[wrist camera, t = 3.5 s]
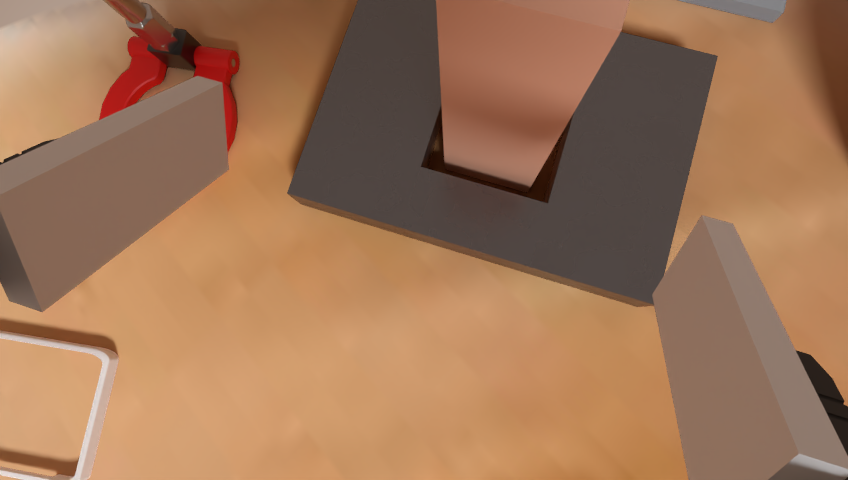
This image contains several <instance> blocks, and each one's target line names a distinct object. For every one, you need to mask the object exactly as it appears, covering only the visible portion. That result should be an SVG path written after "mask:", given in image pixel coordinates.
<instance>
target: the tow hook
mask: <svg viewBox="0 0 848 480" xmlns="http://www.w3.org/2000/svg"><path fill="white" fill-rule="evenodd" d="M103 1H104V2H106V3H107V4H108V5H109V6H110V7H112V8H113V9H114V10H115V11H116V12H118V13H119V14H120V15H121V16H122V17H124V18H125V20H126V23H127V26H128V27H129V28H130V29H131V30H132V31H133V32H135V33H136V34H137V35H138V36H139V37H136V36H133V37H131V38H130V39H129V41H128V52H129V54H130V56H131V57H132V60H131V64H130V68H129V69H128V70H126V71H125V72H124V73H122V74H121V76H120V77H119V78H118V79H117V80H116V82H115V83H114V84H113V85H112V86H111V88H110V90H109V92H108V94H107V96H106V98H105V100H104V102H103V104H102V109H101V113H100V118H99V120H101V119H103V118H105V117H107V116H109V115H112V114H114V113H116V112H118V111H120V110H123V109H125V108H127V107H129V106H131V105H134V104H136V102H137V101H138V100H139V99H140V97H141V96H142V95H143V94H144V93H145V92H147V91H148V90H149V89H151V88H152V87H154V86H156V85H158V84H161V83H162V81H163V80H164V77H165V73H166V69H167V66H169V67H174V68H180V69H187V70H193V71H195V73H194V77H196V76H200V77H204V78H207V79H211V80H215V81H218V82H222V84H223V97H224V111H225V125H226V138H227V152H228V151H229V149H230V147H231V145H232V143H233V140H234V137H235V132H236V126H237V111H236V103H235V101H234V98H233V95H232V92H231V90H230V88H229V85H230V81H231V77H232V74H236V73H237V72H238V69H239V57H238V54H237V53H236V52H235V51H231V50H224V49H218V48H211V47H204V46H201V45H200V44H199V43H198V42H197V41H196V40H195V39H194V38H193V37H192V36H191V35H190V34H189V33H188V32H187V31H186V30H184V29H177V28H174V27H173V26H172V25H171V24H169V23H168V22H167V21H166V20H165V19H164V18H163V17H162V16H161V15H160V14H159V13H158V12H157V11H156V10H155V9H154V8H153V7H152V6H151V5H149V4H147V3H141V2H140V1H139V0H103Z"/></svg>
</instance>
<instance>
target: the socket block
mask: <svg viewBox="0 0 848 480" xmlns="http://www.w3.org/2000/svg"><path fill="white" fill-rule="evenodd" d="M717 57H718V56H716V55H712V54H708V53H704V52H700V51H695V50H691V49H687V48H683V47H679V46H675V45H671V44H667V43H663V42H659V41H655V40H651V39H647V38H643V37H639V36H635V35H631V34H627V33H623V32H620V34H619V36H618V38H617V39H616V41H615V43H614V44H613V46H612V48H611V50H610V51H609V53H608V55H607V56H606V58H605V60H604V62H603V63H602V65H601V67H600V69H599V70H598V72H597V74H596V75H595V77H594V79H593V81H592V82H591V84H590V86H589V87H588V89H587V91H586V93H585V94H584V96H583V98H582V100H581V101H580V103H579V105H578V106H577V108H576V110H575V112H574V113H573V115H572V117H571V118H570V120H569V122H568V124H567V125H566V127H565V129H564V131H563V134H562V138H561V141H560V144H559V148H558V151H557V155H556V158H555V162H554V165H553V169H552V172H551V176H550V179H549V183H548V186H547V190H546V193H545V197H544V200H543V202H541V201H538V200H534V199H531V198H527V197H524V196H521V195H517V194H514V193H510V192H507V191H503V190H500V189H496V188H493V187H489V186H486V185H482V184H479V183H475V182H472V181H469V180H465V179H462V178H458V177H455V176H451V175H448V174H444V173H441V172H437V171H434V170H430V169H427V168H428V165H429V161H430V158H431V155H432V152H433V149H434V146H435V143H436V140H437V137H438V134H439V131H440V128H441V125H442V106H441V86H440V67H439V47H438V28H437V8H436V0H358V2H357V5H356V7H355V10H354V13H353V15H352V18H351V21H350V24H349V26H348V29H347V32H346V35H345V37H344V40H343V43H342V45H341V48H340V51H339V54H338V56H337V59H336V62H335V64H334V67H333V70H332V73H331V75H330V78H329V81H328V83H327V86H326V89H325V92H324V94H323V97H322V100H321V103H320V105H319V108H318V111H317V113H316V116H315V119H314V122H313V124H312V127H311V130H310V132H309V135H308V138H307V141H306V143H305V146H304V149H303V151H302V154H301V157H300V160H299V162H298V165H297V168H296V171H295V173H294V176H293V179H292V181H291V184H290V187H289V190H288V192H287V194H289V195H290V196H291V197H292V198H294V199H295V200H296V201H298V202H299V203H300V204H302V205H305V206H309V207H312V208H315V209H318V210H322V211H325V212H328V213H332V214H335V215H338V216H341V217H345V218H348V219H351V220H354V221H358V222H361V223H364V224H368V225H371V226H374V227H377V228H381V229H384V230H387V231H391V232H394V233H397V234H400V235H404V236H407V237H410V238H413V239H417V240H420V241H423V242H427V243H430V244H433V245H436V246H440V247H443V248H446V249H450V250H453V251H456V252H459V253H463V254H466V255H469V256H472V257H476V258H479V259H482V260H486V261H489V262H492V263H495V264H499V265H502V266H505V267H508V268H512V269H515V270H518V271H522V272H525V273H528V274H531V275H535V276H538V277H541V278H545V279H548V280H551V281H554V282H558V283H561V284H564V285H567V286H571V287H574V288H577V289H581V290H584V291H587V292H590V293H594V294H597V295H600V296H604V297H607V298H610V299H613V300H617V301H620V302H623V303H626V304H630V305H633V306H636V307H643V306H654V302H653V297H652V294H653V292H654V291H655V289H656V288H657V286H658V284H659V283H660V281H661V280H662V278H663V276H664V273H665V269H666V264H667V260H668V256H669V252H670V248H671V244H672V240H673V236H674V232H675V228H676V224H677V220H678V216H679V211H680V207H681V203H682V199H683V195H684V191H685V187H686V183H687V179H688V175H689V171H690V167H691V163H692V159H693V154H694V150H695V146H696V142H697V138H698V134H699V130H700V126H701V122H702V118H703V114H704V110H705V106H706V102H707V97H708V93H709V89H710V85H711V81H712V77H713V73H714V69H715V65H716V61H717Z"/></svg>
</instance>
